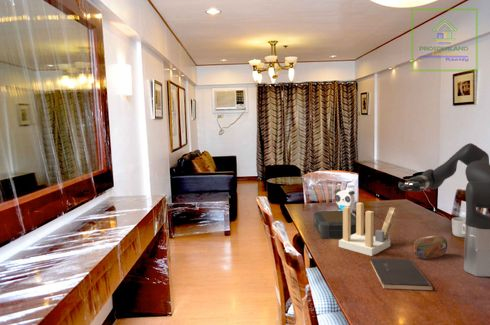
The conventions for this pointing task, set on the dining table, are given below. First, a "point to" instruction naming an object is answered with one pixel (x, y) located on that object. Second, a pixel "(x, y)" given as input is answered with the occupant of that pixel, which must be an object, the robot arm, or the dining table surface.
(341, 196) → the panda figurine
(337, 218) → the cash box
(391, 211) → the leg
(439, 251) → the tin
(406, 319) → the dining table surface
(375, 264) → the hardcover book
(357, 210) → the stool
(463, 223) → the cup
